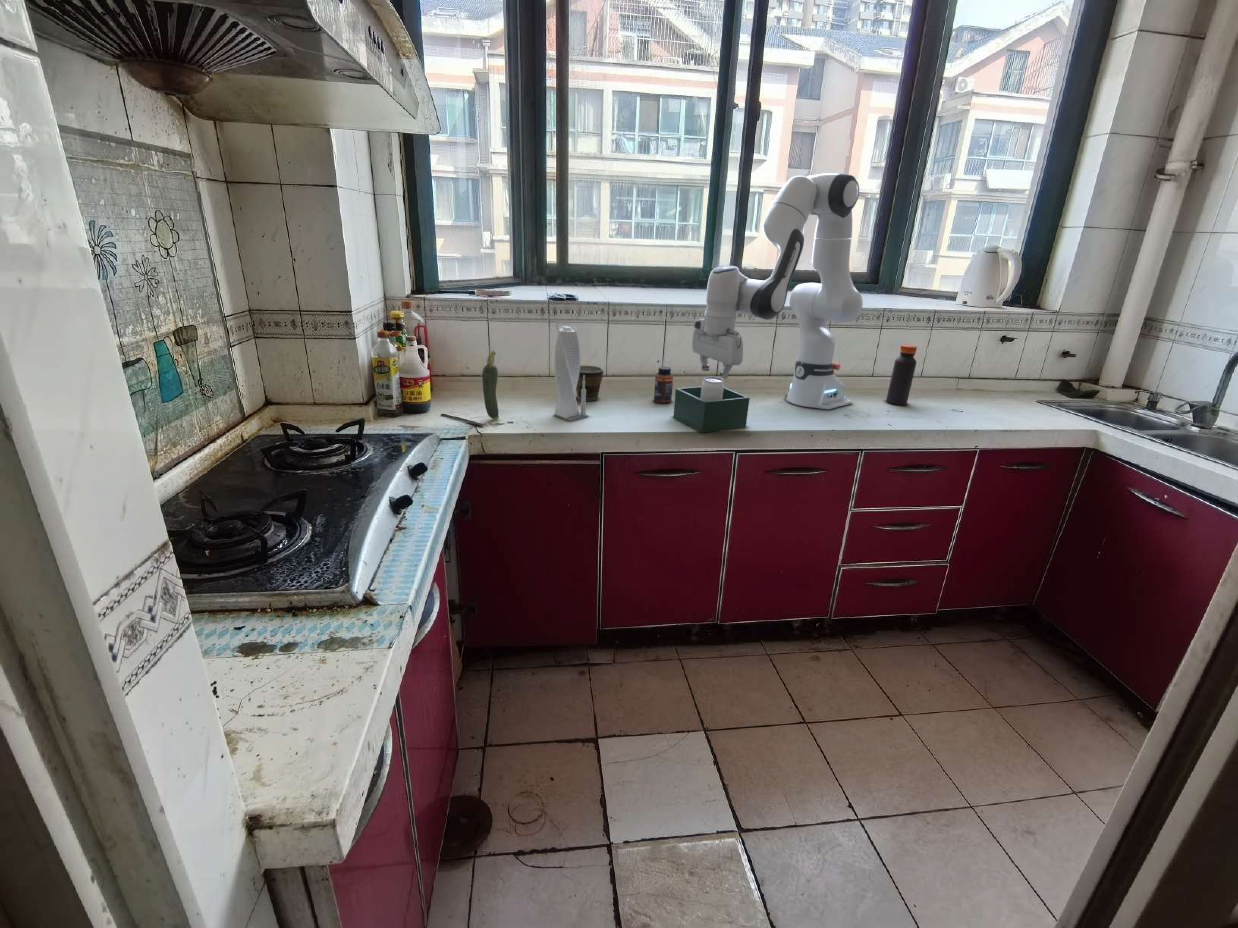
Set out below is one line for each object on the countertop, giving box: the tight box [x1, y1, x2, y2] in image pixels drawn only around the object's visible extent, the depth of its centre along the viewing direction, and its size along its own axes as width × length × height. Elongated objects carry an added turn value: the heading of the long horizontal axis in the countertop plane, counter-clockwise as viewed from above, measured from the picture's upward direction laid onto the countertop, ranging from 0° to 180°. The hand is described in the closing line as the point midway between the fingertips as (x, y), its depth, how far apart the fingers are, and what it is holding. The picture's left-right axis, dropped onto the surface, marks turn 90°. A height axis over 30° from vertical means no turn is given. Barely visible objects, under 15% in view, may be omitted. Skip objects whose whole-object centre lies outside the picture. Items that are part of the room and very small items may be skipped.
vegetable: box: [481, 350, 500, 421], centre depth 167 cm, size 4×4×20 cm
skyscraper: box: [553, 321, 588, 422], centre depth 172 cm, size 8×8×28 cm
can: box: [700, 376, 725, 401], centre depth 175 cm, size 6×6×12 cm
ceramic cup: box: [575, 365, 604, 402], centre depth 193 cm, size 13×10×10 cm
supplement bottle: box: [653, 366, 674, 404], centre depth 195 cm, size 6×6×11 cm
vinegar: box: [885, 344, 918, 406], centre depth 204 cm, size 7×7×20 cm
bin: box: [673, 385, 751, 434], centre depth 176 cm, size 16×16×9 cm
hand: (714, 374), depth 173 cm, fingers open, 8 cm apart
